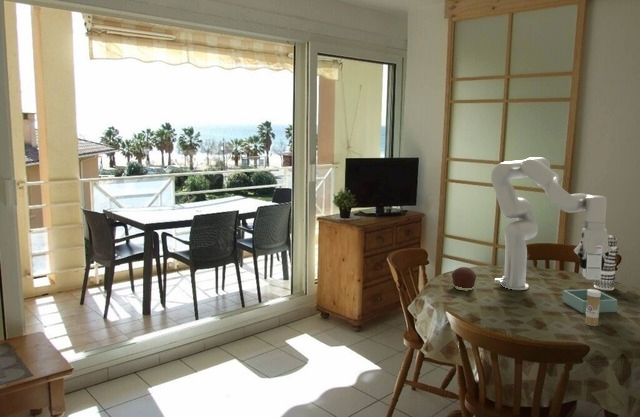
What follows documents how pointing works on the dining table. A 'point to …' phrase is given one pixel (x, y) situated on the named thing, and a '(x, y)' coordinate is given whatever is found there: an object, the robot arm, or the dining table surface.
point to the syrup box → (593, 265)
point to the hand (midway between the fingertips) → (591, 267)
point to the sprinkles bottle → (592, 307)
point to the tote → (579, 301)
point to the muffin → (464, 277)
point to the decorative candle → (608, 267)
